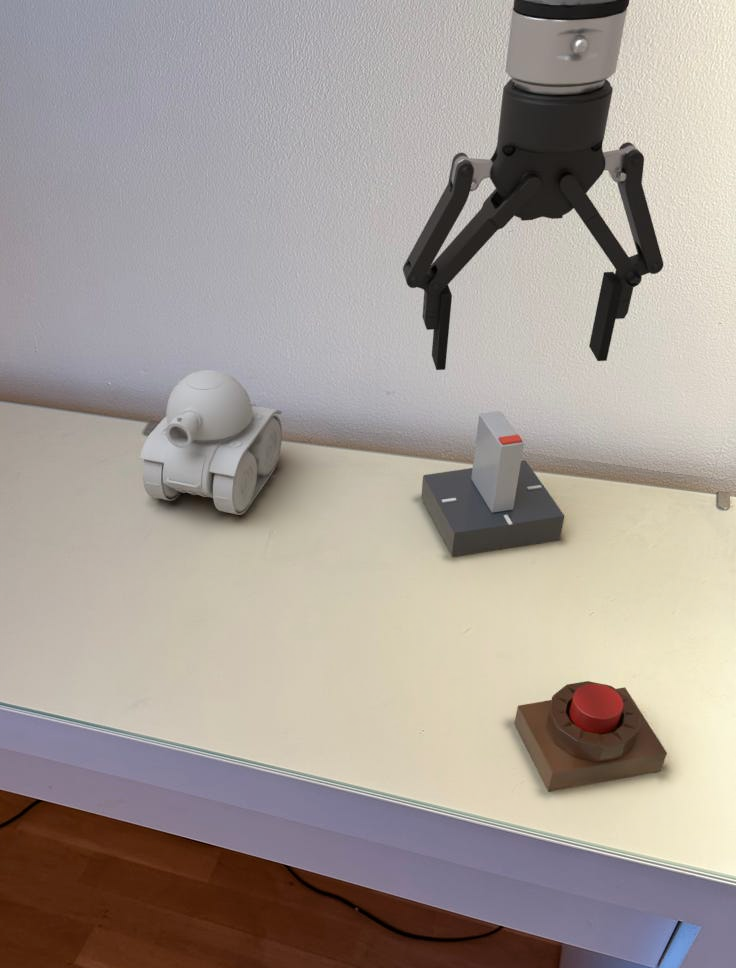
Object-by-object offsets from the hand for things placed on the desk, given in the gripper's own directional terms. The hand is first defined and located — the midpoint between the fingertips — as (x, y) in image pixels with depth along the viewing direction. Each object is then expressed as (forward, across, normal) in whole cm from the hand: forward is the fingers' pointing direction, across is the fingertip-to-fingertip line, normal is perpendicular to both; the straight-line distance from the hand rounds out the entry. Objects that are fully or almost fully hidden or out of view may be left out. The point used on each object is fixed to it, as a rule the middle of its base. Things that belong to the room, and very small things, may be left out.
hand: (517, 358), depth 82 cm
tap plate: (+19, 0, +2) cm, 19 cm away
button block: (+19, +2, -28) cm, 34 cm away
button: (+15, +2, -28) cm, 32 cm away
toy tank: (+19, -28, +11) cm, 35 cm away
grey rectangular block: (+16, 0, +2) cm, 16 cm away
